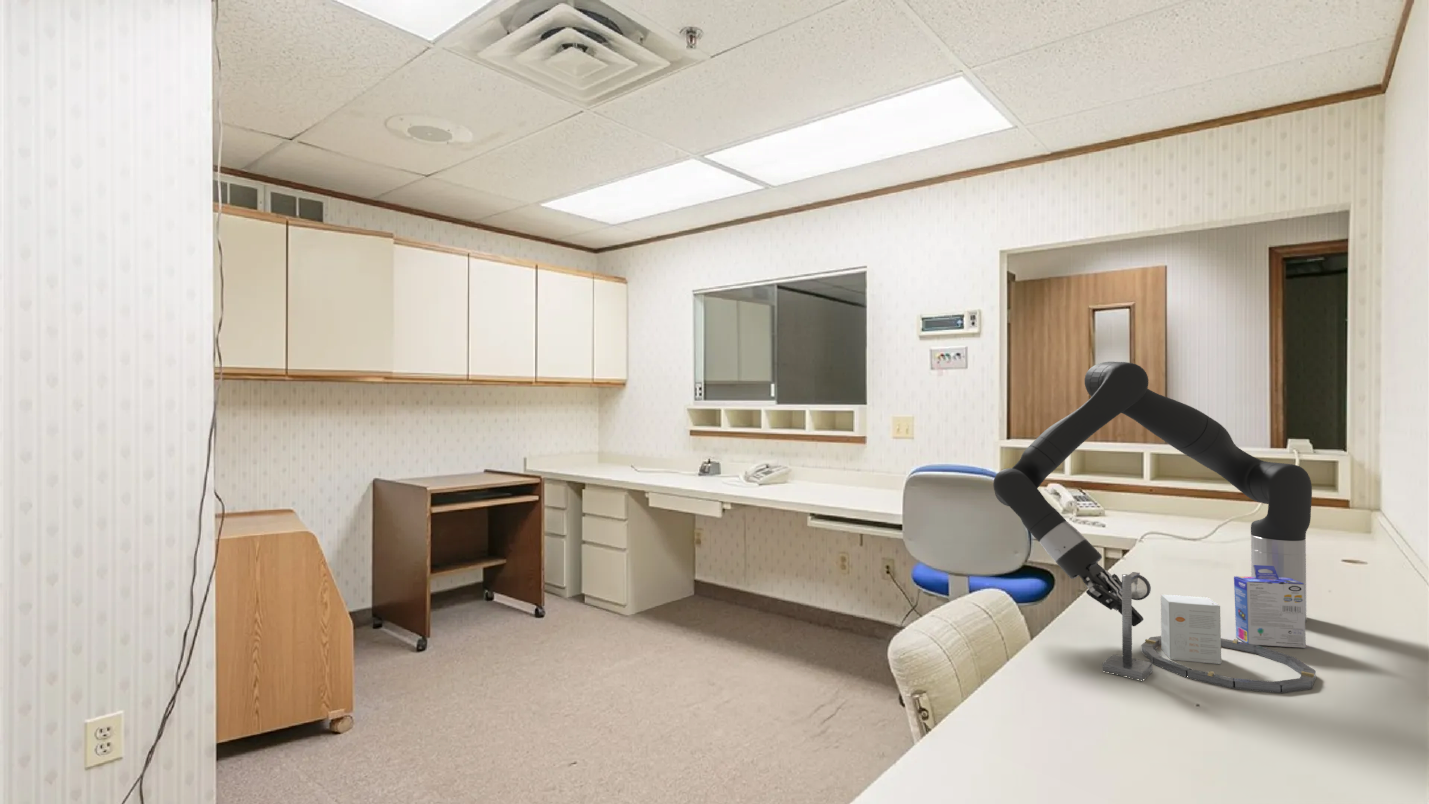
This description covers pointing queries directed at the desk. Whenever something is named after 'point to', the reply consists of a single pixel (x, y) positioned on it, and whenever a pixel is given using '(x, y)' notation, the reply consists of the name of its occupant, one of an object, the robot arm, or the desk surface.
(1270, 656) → the ring
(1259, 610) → the ink cartridge box
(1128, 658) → the dial gauge stand
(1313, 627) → the desk surface
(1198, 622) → the small box
